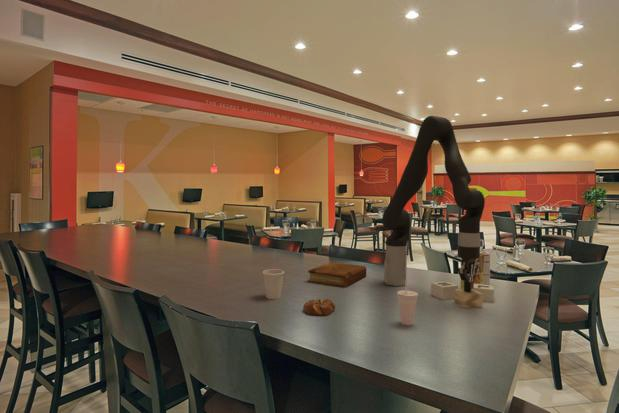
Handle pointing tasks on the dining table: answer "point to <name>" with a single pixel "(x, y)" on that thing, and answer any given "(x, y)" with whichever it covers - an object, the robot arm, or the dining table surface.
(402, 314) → the smoothie
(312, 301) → the brown braided bread bun
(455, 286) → the marked block
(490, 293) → the marked block
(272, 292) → the dixie cup
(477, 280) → the candy box
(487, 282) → the syrup box
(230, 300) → the dining table surface
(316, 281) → the diary
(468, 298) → the plain block
